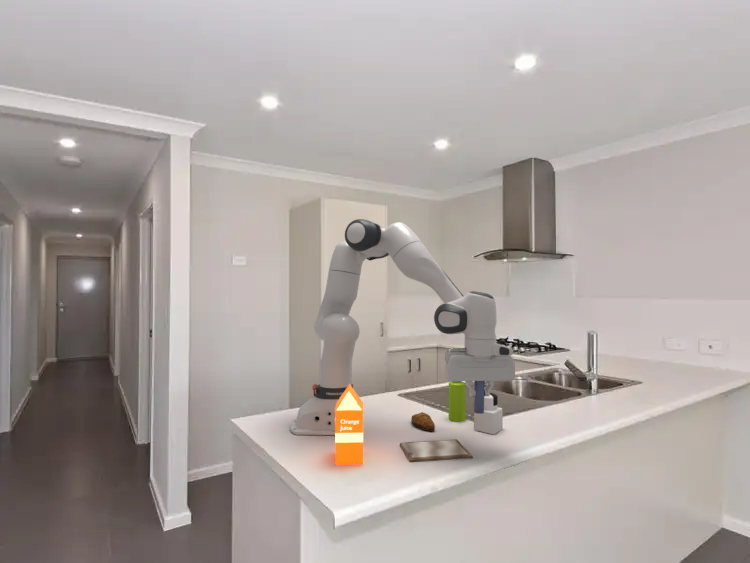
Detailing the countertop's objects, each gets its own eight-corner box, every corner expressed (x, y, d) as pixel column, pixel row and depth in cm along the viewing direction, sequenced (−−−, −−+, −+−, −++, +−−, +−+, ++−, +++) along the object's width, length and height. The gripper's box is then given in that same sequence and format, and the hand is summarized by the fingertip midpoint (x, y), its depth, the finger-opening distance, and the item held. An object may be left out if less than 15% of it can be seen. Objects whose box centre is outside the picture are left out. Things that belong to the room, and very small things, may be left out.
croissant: (404, 422, 154) (404, 408, 154) (421, 419, 157) (420, 405, 157) (424, 434, 141) (423, 419, 142) (441, 431, 144) (441, 416, 144)
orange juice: (363, 451, 127) (363, 383, 127) (363, 464, 118) (363, 390, 118) (336, 452, 126) (336, 383, 126) (334, 464, 118) (334, 390, 118)
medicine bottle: (483, 424, 150) (482, 390, 150) (502, 429, 146) (502, 393, 146) (473, 430, 145) (473, 394, 145) (493, 435, 140) (493, 397, 140)
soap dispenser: (468, 422, 153) (468, 365, 153) (448, 421, 154) (448, 364, 154) (468, 417, 158) (468, 362, 159) (449, 416, 160) (448, 362, 160)
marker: (476, 413, 124) (476, 371, 124) (472, 410, 127) (473, 369, 127) (485, 413, 124) (486, 371, 124) (481, 410, 127) (482, 369, 127)
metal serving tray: (409, 462, 119) (409, 456, 119) (399, 444, 132) (399, 439, 132) (472, 457, 122) (472, 452, 122) (456, 441, 135) (456, 436, 135)
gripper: (448, 349, 121) (447, 399, 121) (518, 349, 124) (517, 398, 124) (442, 346, 127) (441, 393, 127) (508, 346, 130) (507, 393, 130)
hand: (479, 396), depth 125 cm, fingers closed on marker, 3 cm apart
